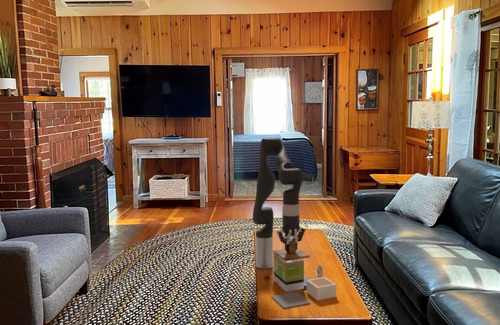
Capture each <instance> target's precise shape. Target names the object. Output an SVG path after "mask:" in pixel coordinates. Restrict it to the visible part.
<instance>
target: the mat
mask: <svg viewBox="0 0 500 325" xmlns="http://www.w3.org/2000/svg"><path fill="white" fill-rule="evenodd" d="M271 299H273V300H274V301H275V302H276V303H277V304H278V305H279V306H280V307H281V308H282V309H285V310H286V309H291V308H296V307H300V306H306V305H311V302H310V301H309V300H308V299H307V298H305V297H304V296H303V295H302V294H300V293H299V291H290V292H285V293H280V294H276V295H271Z"/></svg>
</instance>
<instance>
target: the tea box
mask: <svg viewBox="0 0 500 325" xmlns="http://www.w3.org/2000/svg"><path fill="white" fill-rule="evenodd" d="M273 282H274V283H276V284H277V285H278V286H279V287H280V288H281V289H282V290H283V291H284V292H285V293H291V292H297V291H300V290H301V291H302V290H304V289H305V260H304V259H297V260H290V261H284V260H283V259H281V258H280V257H278V256H277V255H275V254H274V253H273Z"/></svg>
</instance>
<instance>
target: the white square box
mask: <svg viewBox="0 0 500 325" xmlns="http://www.w3.org/2000/svg"><path fill="white" fill-rule="evenodd" d="M306 293H307V294H308V295H309V296H310V297H312V298H314V300H316V301H323V300H326V299H332V298H337V283H336V282H333V281H332V280H331V279H329V278H327V277H326V276H323V277H322V278H318V277H317V278H311V279H306Z"/></svg>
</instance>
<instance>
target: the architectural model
mask: <svg viewBox="0 0 500 325" xmlns="http://www.w3.org/2000/svg"><path fill="white" fill-rule="evenodd" d="M323 271H324V270H323V266H322V263H320V264H318V265H317V268H316V269H313V272H314V275H315V276H317V278H322V277H324V276H323Z"/></svg>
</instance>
